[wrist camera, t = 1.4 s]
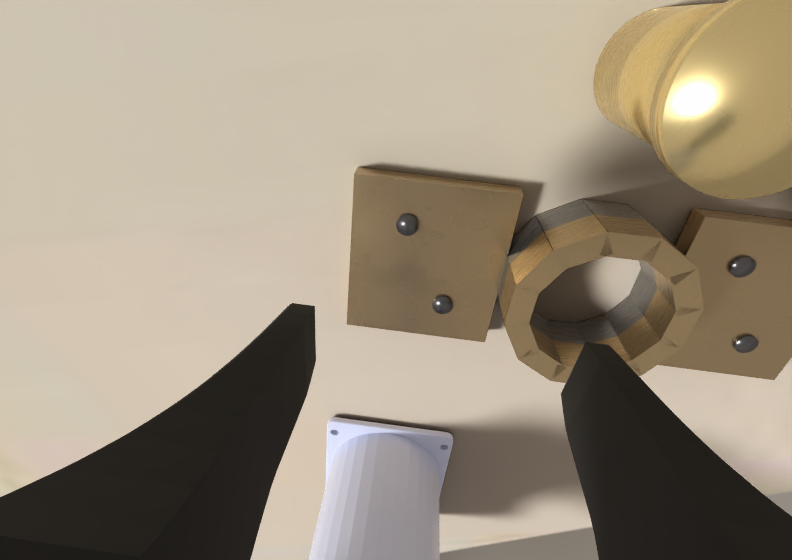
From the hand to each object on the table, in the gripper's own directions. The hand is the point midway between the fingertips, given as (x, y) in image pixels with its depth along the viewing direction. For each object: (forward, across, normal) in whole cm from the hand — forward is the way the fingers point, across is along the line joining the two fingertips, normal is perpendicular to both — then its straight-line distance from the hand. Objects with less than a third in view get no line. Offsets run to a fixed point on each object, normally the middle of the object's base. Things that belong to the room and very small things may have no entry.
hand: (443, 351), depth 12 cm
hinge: (+10, -7, +3) cm, 12 cm away
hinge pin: (+10, -7, -6) cm, 14 cm away
